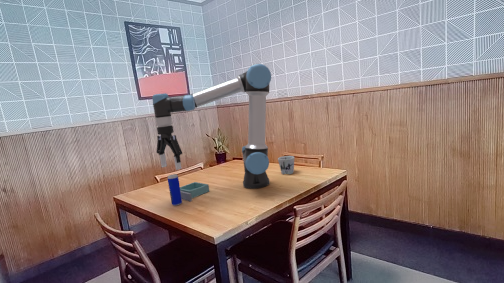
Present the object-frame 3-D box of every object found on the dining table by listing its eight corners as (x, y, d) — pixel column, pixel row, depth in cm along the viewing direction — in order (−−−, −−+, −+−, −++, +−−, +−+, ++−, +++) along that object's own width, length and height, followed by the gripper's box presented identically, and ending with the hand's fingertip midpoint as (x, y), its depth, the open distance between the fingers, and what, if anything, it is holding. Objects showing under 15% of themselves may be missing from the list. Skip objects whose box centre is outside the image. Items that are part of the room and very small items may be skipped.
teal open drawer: (209, 191, 156) (208, 184, 155) (190, 198, 147) (189, 191, 146) (195, 188, 164) (195, 181, 164) (177, 195, 155) (176, 188, 155)
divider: (192, 200, 143) (191, 193, 143) (190, 201, 142) (189, 194, 142) (175, 196, 154) (174, 189, 153) (173, 196, 153) (172, 189, 153)
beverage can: (172, 202, 143) (168, 174, 141) (182, 201, 144) (178, 173, 142) (170, 206, 138) (166, 177, 136) (181, 205, 139) (176, 176, 137)
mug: (278, 175, 171) (277, 160, 169) (280, 169, 185) (278, 155, 184) (295, 174, 169) (294, 158, 168) (296, 168, 184) (294, 153, 182)
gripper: (185, 124, 130) (192, 168, 133) (158, 125, 147) (165, 164, 150) (171, 126, 124) (178, 172, 127) (145, 127, 142) (152, 167, 145)
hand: (171, 168), depth 139 cm, fingers open, 13 cm apart
